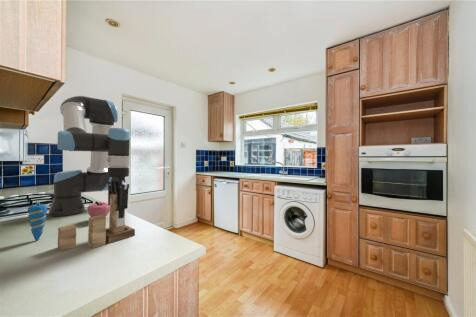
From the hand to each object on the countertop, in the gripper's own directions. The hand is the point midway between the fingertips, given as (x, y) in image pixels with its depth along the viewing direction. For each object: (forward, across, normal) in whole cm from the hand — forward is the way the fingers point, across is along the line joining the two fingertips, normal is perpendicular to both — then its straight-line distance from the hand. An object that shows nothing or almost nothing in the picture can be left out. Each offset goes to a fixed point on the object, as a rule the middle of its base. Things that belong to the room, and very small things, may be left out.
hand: (117, 224), depth 80 cm
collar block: (+5, 0, 0) cm, 5 cm away
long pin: (+4, 0, 0) cm, 4 cm away
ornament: (+5, -18, -20) cm, 27 cm away
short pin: (+5, -3, -15) cm, 16 cm away
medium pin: (+5, +3, -8) cm, 10 cm away
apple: (+5, -27, +3) cm, 28 cm away
